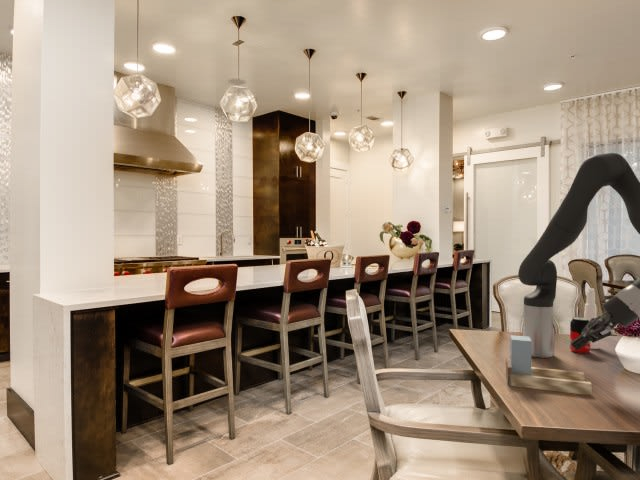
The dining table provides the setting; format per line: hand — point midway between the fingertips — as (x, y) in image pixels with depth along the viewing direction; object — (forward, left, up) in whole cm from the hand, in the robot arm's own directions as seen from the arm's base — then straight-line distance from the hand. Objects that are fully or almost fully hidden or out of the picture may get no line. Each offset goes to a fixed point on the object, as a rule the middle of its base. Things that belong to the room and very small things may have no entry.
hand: (573, 347), depth 120 cm
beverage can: (-38, -25, -11) cm, 47 cm away
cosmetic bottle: (-48, -28, -11) cm, 57 cm away
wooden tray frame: (+5, -5, -11) cm, 13 cm away
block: (+9, -9, -10) cm, 16 cm away
